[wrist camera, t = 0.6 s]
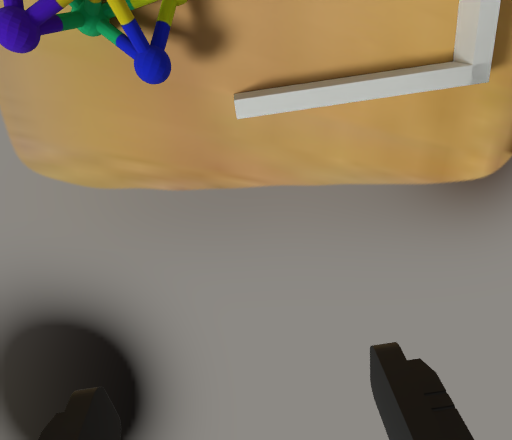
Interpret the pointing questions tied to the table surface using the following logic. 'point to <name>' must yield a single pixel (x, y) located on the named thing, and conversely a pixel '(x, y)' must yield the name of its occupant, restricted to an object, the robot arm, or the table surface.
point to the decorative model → (92, 29)
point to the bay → (392, 72)
